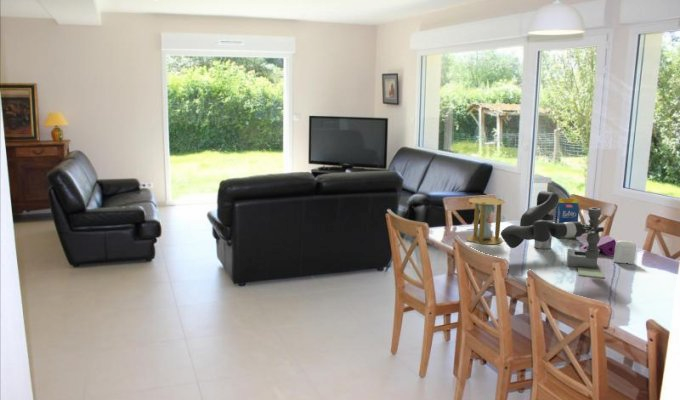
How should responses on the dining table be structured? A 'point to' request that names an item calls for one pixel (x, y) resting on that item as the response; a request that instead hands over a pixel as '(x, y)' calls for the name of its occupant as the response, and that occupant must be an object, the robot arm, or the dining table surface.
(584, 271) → the mat
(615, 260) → the photo printer
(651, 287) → the dining table surface
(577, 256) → the socket block
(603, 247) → the mounting bracket
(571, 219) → the blue food package
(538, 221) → the robot arm
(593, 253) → the candle holder
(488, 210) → the hourglass
